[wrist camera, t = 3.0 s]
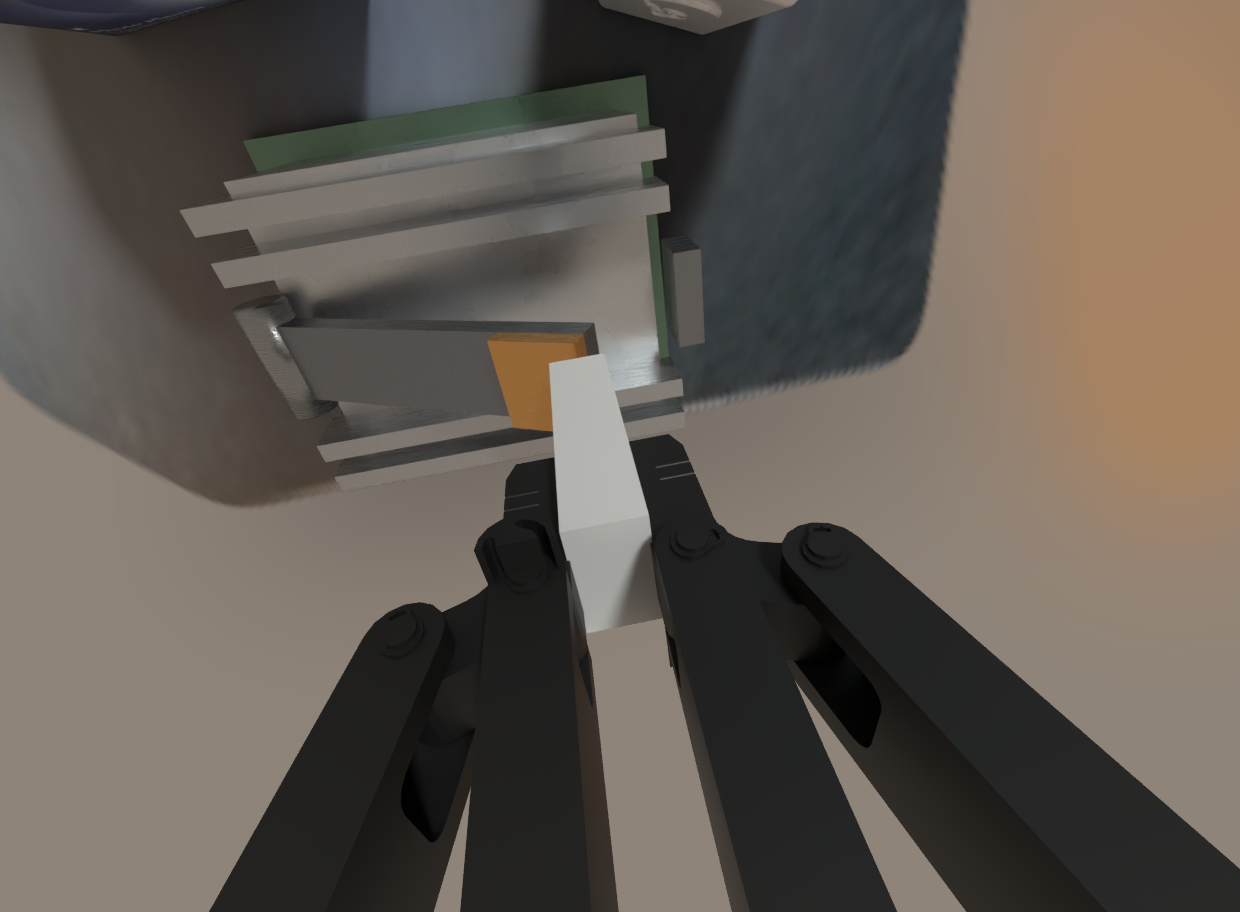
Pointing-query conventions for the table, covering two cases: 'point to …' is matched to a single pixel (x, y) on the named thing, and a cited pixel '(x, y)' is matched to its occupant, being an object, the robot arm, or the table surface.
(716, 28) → the jar
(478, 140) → the heatsink
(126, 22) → the small box
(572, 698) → the robot arm
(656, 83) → the table surface
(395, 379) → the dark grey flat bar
